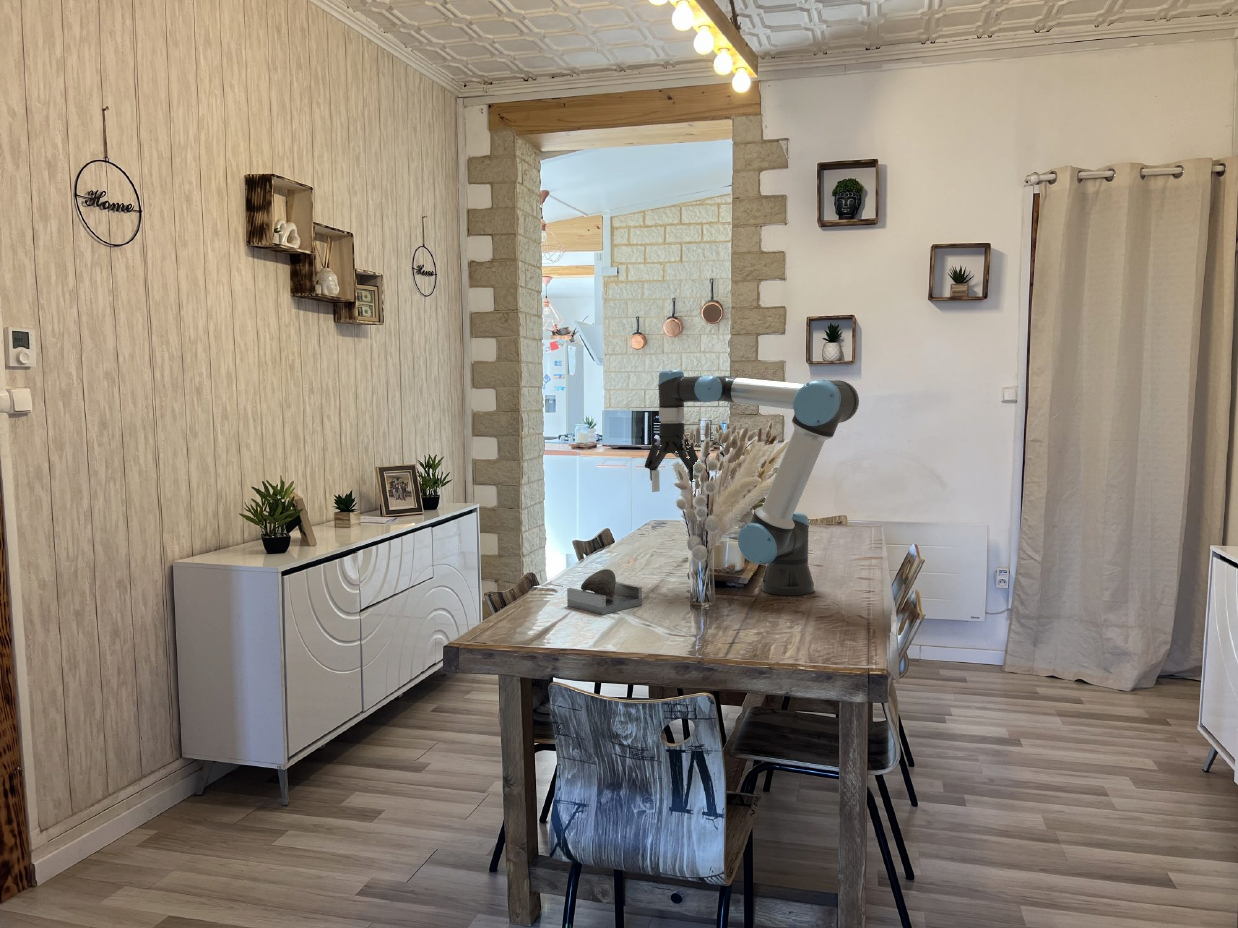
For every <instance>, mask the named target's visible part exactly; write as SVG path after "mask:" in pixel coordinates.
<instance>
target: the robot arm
mask: <svg viewBox="0 0 1238 928" xmlns="http://www.w3.org/2000/svg"><path fill="white" fill-rule="evenodd" d="M684 373H685V372H684V371H683V370H679V369H678V370H675V369H673V370H672V369H671V370H661V371H660V372H659V374H658V384H657V389H658V421H659V422H660V423H659V425H658V427H659V428H658V430H659V431H658V432H659V433H658V434H659V435H660V437H653V438H652V440H651V447H650V449H649V452H648V454H647V457H646V461H645V464H644V468H646V469H648V470H649V479H650V481H651V492H652V493H657V492H660V469H659V466H660V465H661V463H662V462H663V460H664V459H665V457H666V456H667V455H668V454H674V453H675V451H677V452H678V453H675V454H676V455H677V454H679V456H678V457H679V459H680V461H681V462H682V464H683V465H684V466H685V468H686V469H687V472H686V473H687V475H688V477H689V480H690V481H691V482H692V480H693V465H694V464H695V462H697V460H698V459H699V457H698V455H697V452H696V450H695V447H694V442H693V443H691V444H689V443H688V439H689V438H684V435H685V423H684V422H683V421H685V403H711V402H726V403H735V404H736V403H737V404H744V405H754V406H759V407H760V406H761V407H762V406H763V407H768V408H769V407H770V408H778V409H779V408H780V409H786V410H787V409H788V410H793V417H792V419H791V423H792V424H793V425H792V426H793V427H794V429H793V433H792V435H791V437H790V439H789V441H788V444H787V446H786V449H785V451H784V454H783V457H782V459H781V461H780V464H779V465H778V469H777V471H776V472H775V476H774V478H773V481H772V483H771V486H770V488H769V490H768V493H767V495H766V497H765V500H764V503H763V505H762V506H759V507H756V508H755V510H754V512H753V515H752V517H751V519H750V522H749V523H747V524H745V525H744V526H743V527H742V528H741V529H740V530H739V532H738V535H737V536H738V537H737V545H738V548H739V550H740V553H741V555H742V556H743V558H745V559H746V560H747V561H749V562H750V563H753V564H755V565H764V564H766V567H765V571H764V574H763V578H762V579H761V590H762V591H763V592H765V593H767V594H773V595H779V596H802V595H803V596H804V595H809V594H812V593H813V592H814V591H815V582H814V579H813V576H812V572H811V570H810V569H811V568H810V567H809V527H810V525H809V517H808V515H806V514H805V513H800V512H796V509H797V507H798V505H799V503H800V499H802V498H801V497H802V496H803V492H804V491H805V488H806V485H807V484H808V482H809V478H810V477H811V474H812V472H813V470H814V467H815V464H816V462H817V460H818V457H819V455H820V454H821V453H820V452H821V451H822V448H823V446H824V444H825V442H826V440H830V439H832V438H833V437H834V434H835V433H836V431H837V428H838V426H839V424H841V423H844V422H847V421H848V420H850V419H851V418H853V417H854V416H855V414H856V413H857V412H858V409H859V406H860V398H859V393H858V391H857V389H856V388H855V387H854V386H853V385H852V384H850V383H848V382H847V381H844V380H839V379H838V380H837V379H836V380H826V379H815V380H812V381H808V382H807V383H806V382H805V383H800V382H799V383H798V382H789V381H779V380H769V379H768V380H767V379H766V380H765V379H759V378H758V379H755V378H747V377H745V378H744V377H735V376H730V375H721V376H720V375H718V376H715V375H697V376H685V374H684ZM683 438H684V442H683ZM686 442H687V444H686ZM660 445H661V446H660ZM686 446H691V447H689V448H687V447H686ZM685 448H686V449H685ZM686 450H689V451H686ZM687 456H689V457H690V458H689V459H688V458H686V457H687ZM687 475H686V476H687Z"/></svg>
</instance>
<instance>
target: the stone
mask: <svg viewBox="0 0 1238 928" xmlns="http://www.w3.org/2000/svg"><path fill="white" fill-rule="evenodd" d="M616 582H617V581H616V575H615V572H614V571H613V570H612V569H608V568H607V569H600V570H598V571H597V572H594V573H593V574H591V575H590V576H588V577H587V578H585V580H584V581H583V582H582V584H581V586H580V590H583V591H587V592H592V593H596V594H601V595H605V596H608V597H610V598H612V597H613V596H614V592H615V585H616Z"/></svg>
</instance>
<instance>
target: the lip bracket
mask: <svg viewBox="0 0 1238 928" xmlns="http://www.w3.org/2000/svg"><path fill="white" fill-rule="evenodd" d="M642 589H643V588H642V586H638V585H633V584H629V583H625V582H619V581H616V585H615V592H614V596H613V597H612V598H610V597H608V596H605V595H601V594H596V593H594V592H592V591H587V590H586V591H583V590H582V589H577V588H573V587H568V588H566V592H567V593H566V594H567V595H566V596H567V597H566V598H567V599H566V602H567V607H569V608H573V609H576V610H581V611H585V612H588V613H589V612H590V613H593V614H596V615H597V614H598V615H601V616H604V615H607V614H612V613H615V612H620V611H623V610H627V609H630V608H635V607H639V606H642V605H643V595H642V593H643V591H642Z"/></svg>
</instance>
